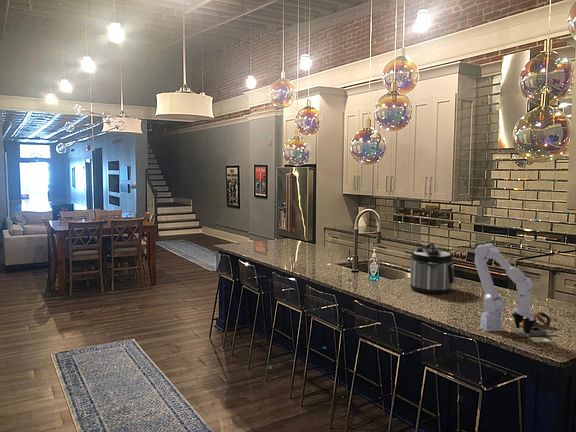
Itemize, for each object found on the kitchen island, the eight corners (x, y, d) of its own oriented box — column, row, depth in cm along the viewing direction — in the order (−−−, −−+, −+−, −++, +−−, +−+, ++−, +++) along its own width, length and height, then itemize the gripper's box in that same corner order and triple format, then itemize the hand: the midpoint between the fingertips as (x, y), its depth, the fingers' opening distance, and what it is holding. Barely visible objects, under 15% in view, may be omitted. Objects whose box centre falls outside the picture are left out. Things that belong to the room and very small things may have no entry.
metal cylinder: (521, 337, 234) (521, 323, 233) (517, 335, 237) (518, 321, 236) (527, 337, 234) (528, 323, 233) (523, 335, 237) (524, 321, 236)
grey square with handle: (532, 337, 234) (532, 331, 233) (524, 332, 240) (524, 327, 240) (557, 337, 235) (558, 331, 234) (549, 332, 242) (549, 326, 241)
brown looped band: (538, 322, 258) (547, 311, 254) (547, 335, 250) (556, 324, 246) (519, 318, 255) (527, 307, 251) (527, 331, 247) (536, 320, 243)
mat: (534, 342, 227) (534, 341, 227) (528, 338, 232) (528, 337, 232) (550, 341, 228) (551, 341, 228) (544, 338, 233) (544, 337, 233)
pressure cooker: (438, 298, 305) (440, 248, 302) (400, 289, 325) (401, 243, 322) (461, 289, 326) (462, 243, 322) (423, 282, 346) (425, 239, 343)
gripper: (540, 307, 227) (539, 335, 228) (523, 299, 241) (522, 325, 242) (526, 307, 226) (525, 335, 227) (510, 299, 241) (509, 325, 242)
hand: (522, 330), depth 235 cm, fingers open, 7 cm apart
